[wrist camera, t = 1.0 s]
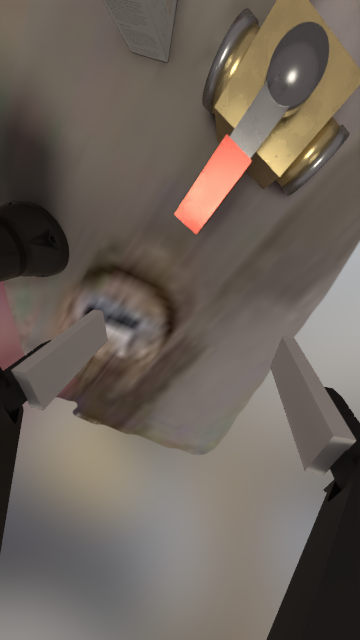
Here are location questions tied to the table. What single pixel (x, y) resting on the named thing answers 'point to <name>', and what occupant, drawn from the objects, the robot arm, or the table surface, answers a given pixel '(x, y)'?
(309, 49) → the lever
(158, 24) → the small box
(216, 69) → the pipe
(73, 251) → the table surface
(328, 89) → the valve body
